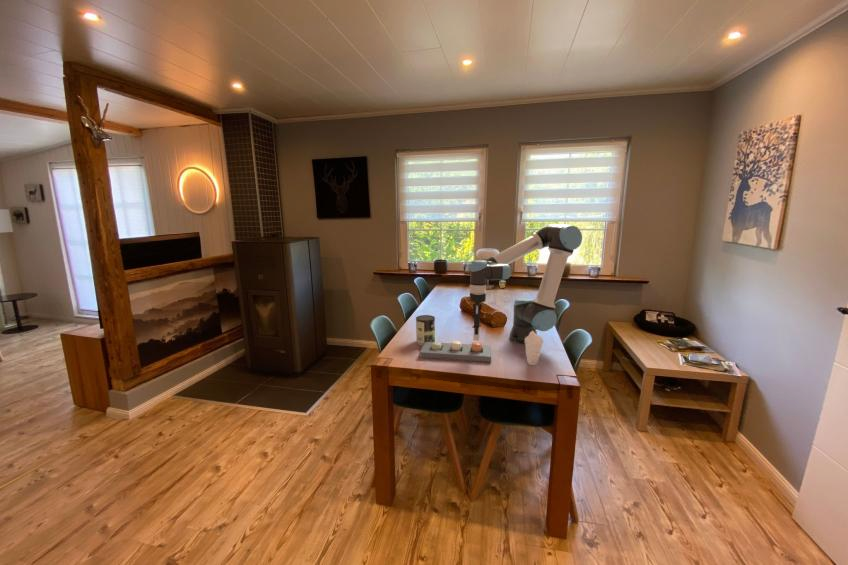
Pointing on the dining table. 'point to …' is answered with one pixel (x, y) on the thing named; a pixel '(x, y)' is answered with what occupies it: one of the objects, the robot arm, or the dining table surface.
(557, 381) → the dining table surface
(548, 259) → the robot arm
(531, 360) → the soft serve ice cream cone
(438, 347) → the sage button
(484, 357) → the button panel
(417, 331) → the coffee can
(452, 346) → the cream button
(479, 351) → the terracotta button
